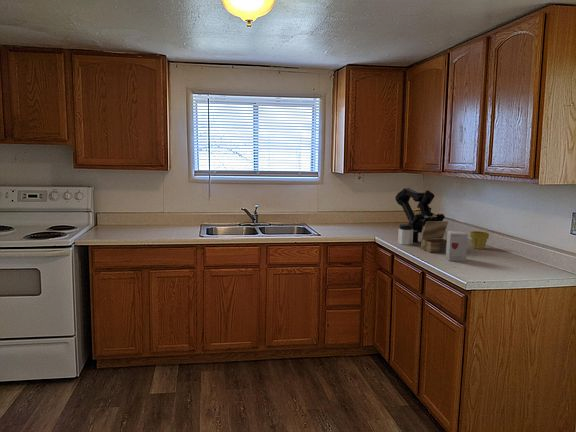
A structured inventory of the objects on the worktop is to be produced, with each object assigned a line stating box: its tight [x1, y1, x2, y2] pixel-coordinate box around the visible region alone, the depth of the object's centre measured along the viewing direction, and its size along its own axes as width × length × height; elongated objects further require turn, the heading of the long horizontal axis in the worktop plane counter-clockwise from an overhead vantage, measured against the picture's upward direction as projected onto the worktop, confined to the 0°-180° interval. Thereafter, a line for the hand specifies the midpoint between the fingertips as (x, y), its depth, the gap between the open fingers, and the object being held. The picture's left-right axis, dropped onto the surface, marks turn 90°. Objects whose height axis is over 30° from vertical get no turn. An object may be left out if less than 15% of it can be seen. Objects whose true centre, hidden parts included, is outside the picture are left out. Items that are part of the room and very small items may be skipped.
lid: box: [420, 220, 449, 239], centre depth 288 cm, size 12×14×1 cm
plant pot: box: [469, 230, 490, 250], centre depth 295 cm, size 10×10×10 cm
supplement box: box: [445, 230, 469, 263], centre depth 261 cm, size 9×9×15 cm
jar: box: [397, 223, 414, 246], centre depth 306 cm, size 9×8×12 cm
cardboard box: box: [420, 238, 447, 254], centre depth 285 cm, size 12×14×6 cm
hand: (433, 229), depth 289 cm, fingers closed
